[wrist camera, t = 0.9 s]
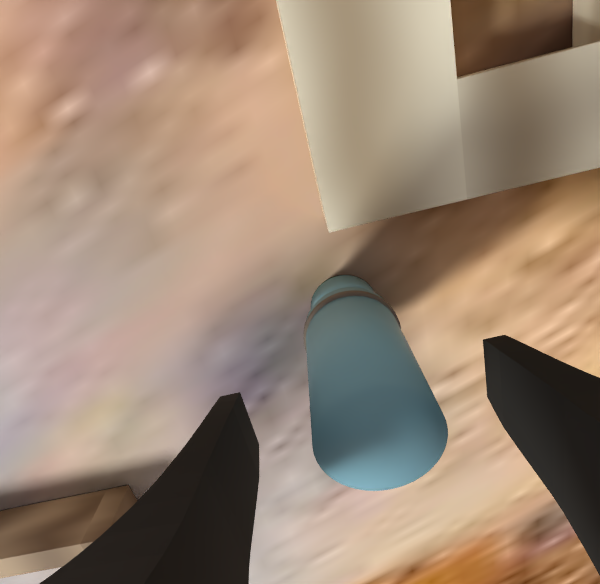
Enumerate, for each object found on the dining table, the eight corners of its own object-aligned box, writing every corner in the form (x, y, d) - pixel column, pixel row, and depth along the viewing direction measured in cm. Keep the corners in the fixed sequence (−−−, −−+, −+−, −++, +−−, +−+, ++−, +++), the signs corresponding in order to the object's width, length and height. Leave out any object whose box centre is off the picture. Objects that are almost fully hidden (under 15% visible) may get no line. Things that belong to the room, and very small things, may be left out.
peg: (378, 257, 17) (442, 367, 10) (391, 332, 18) (457, 478, 11) (292, 277, 17) (294, 399, 10) (312, 349, 19) (325, 503, 11)
